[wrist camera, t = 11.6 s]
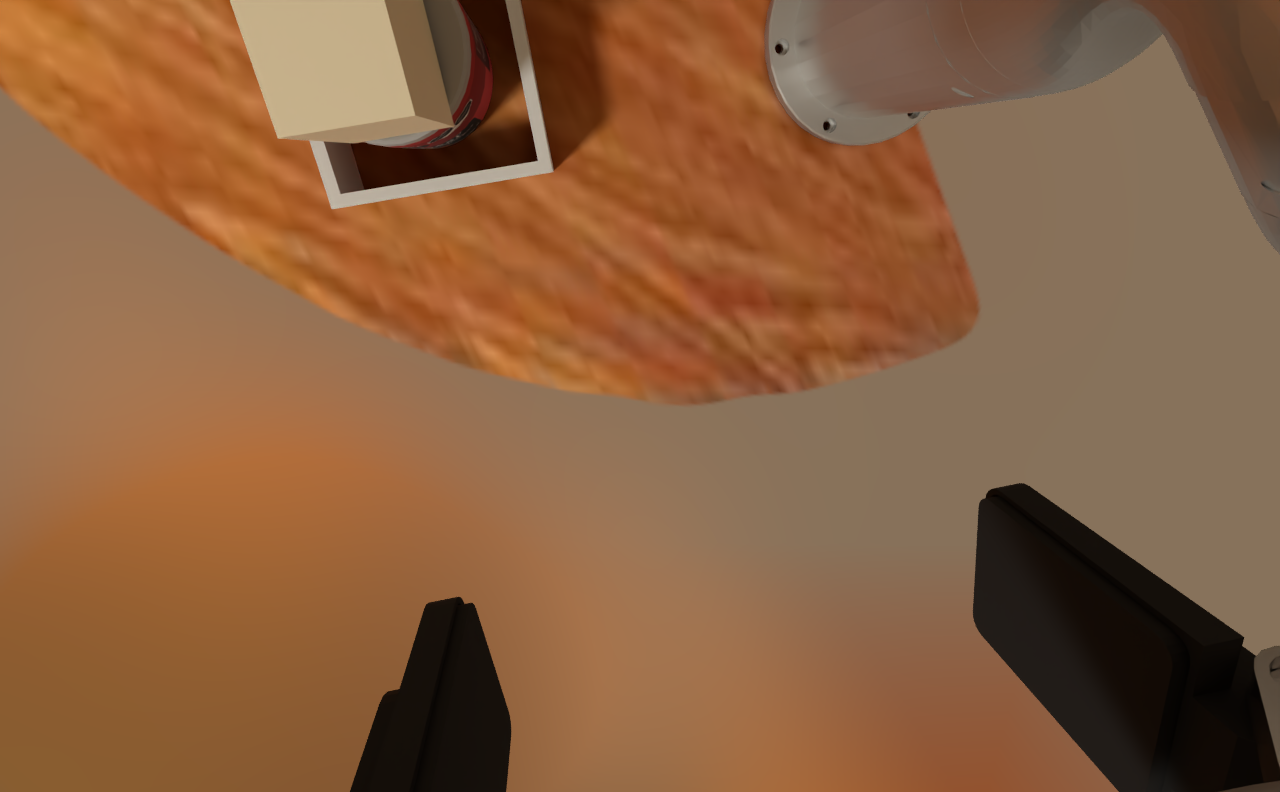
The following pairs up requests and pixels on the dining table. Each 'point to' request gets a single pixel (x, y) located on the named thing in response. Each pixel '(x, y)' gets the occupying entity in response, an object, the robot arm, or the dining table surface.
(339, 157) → the box
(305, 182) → the dining table surface
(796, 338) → the dining table surface
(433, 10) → the canned food
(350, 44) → the plain beige cuboid
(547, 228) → the dining table surface
